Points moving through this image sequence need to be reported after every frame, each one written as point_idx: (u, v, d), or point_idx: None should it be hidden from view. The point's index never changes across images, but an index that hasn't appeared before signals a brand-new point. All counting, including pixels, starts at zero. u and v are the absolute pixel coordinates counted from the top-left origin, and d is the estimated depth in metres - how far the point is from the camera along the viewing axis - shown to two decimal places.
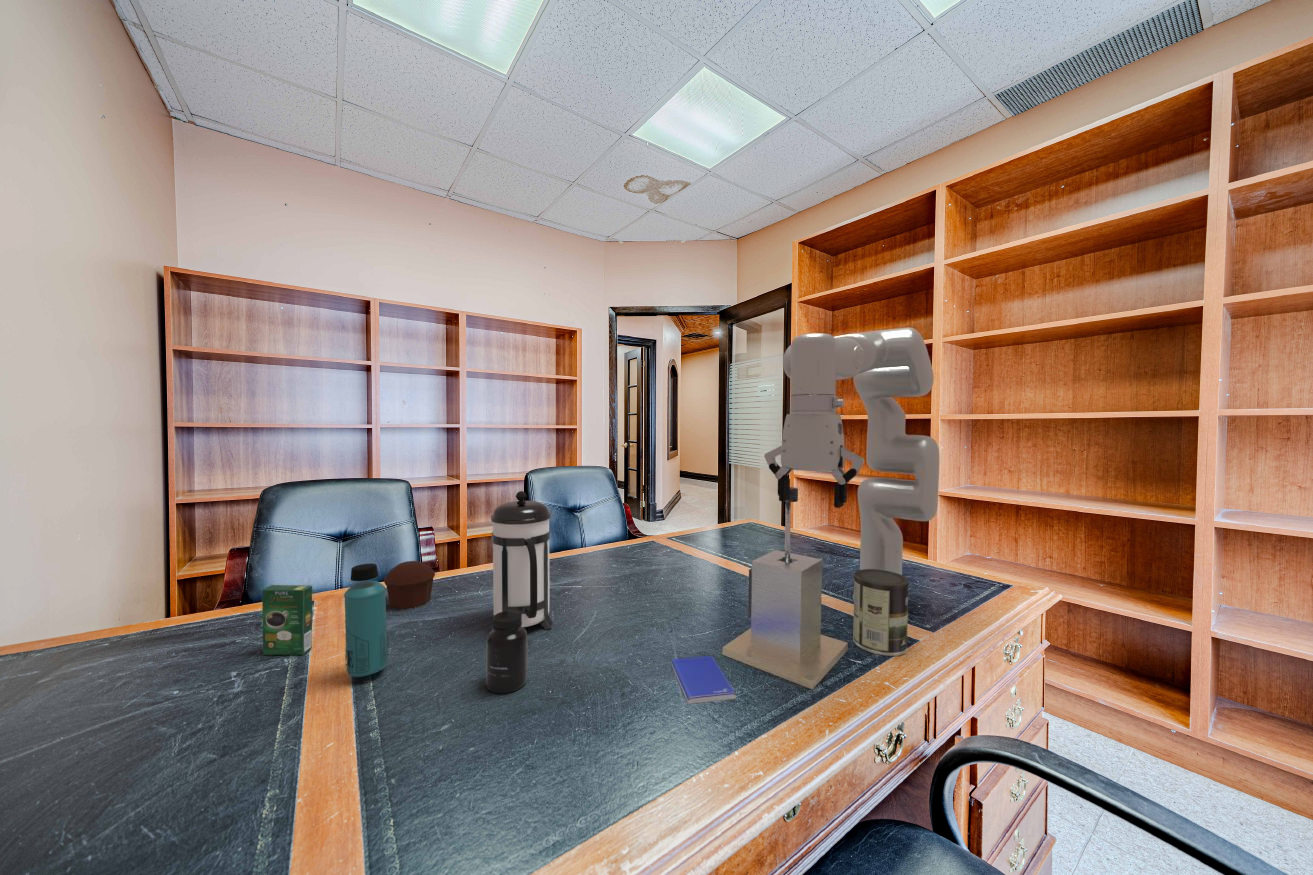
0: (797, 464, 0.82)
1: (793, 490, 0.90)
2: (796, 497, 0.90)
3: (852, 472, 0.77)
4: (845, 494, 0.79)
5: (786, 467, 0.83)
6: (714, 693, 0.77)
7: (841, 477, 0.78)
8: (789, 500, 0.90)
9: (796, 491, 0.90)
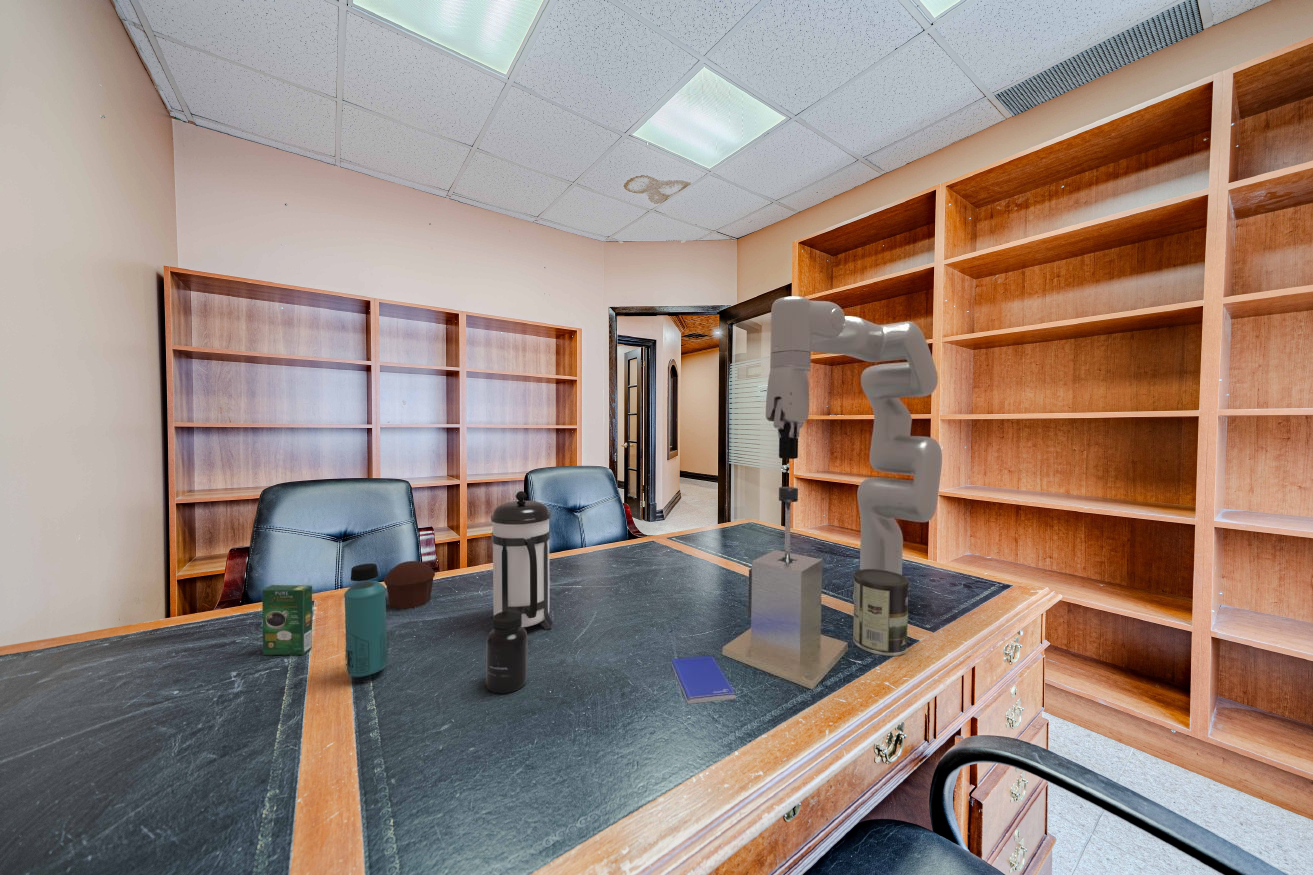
0: (795, 416, 0.88)
1: (793, 490, 0.90)
2: (796, 497, 0.90)
3: None
4: None
5: (789, 419, 0.87)
6: (714, 694, 0.77)
7: (798, 432, 0.91)
8: (789, 500, 0.90)
9: (796, 491, 0.90)
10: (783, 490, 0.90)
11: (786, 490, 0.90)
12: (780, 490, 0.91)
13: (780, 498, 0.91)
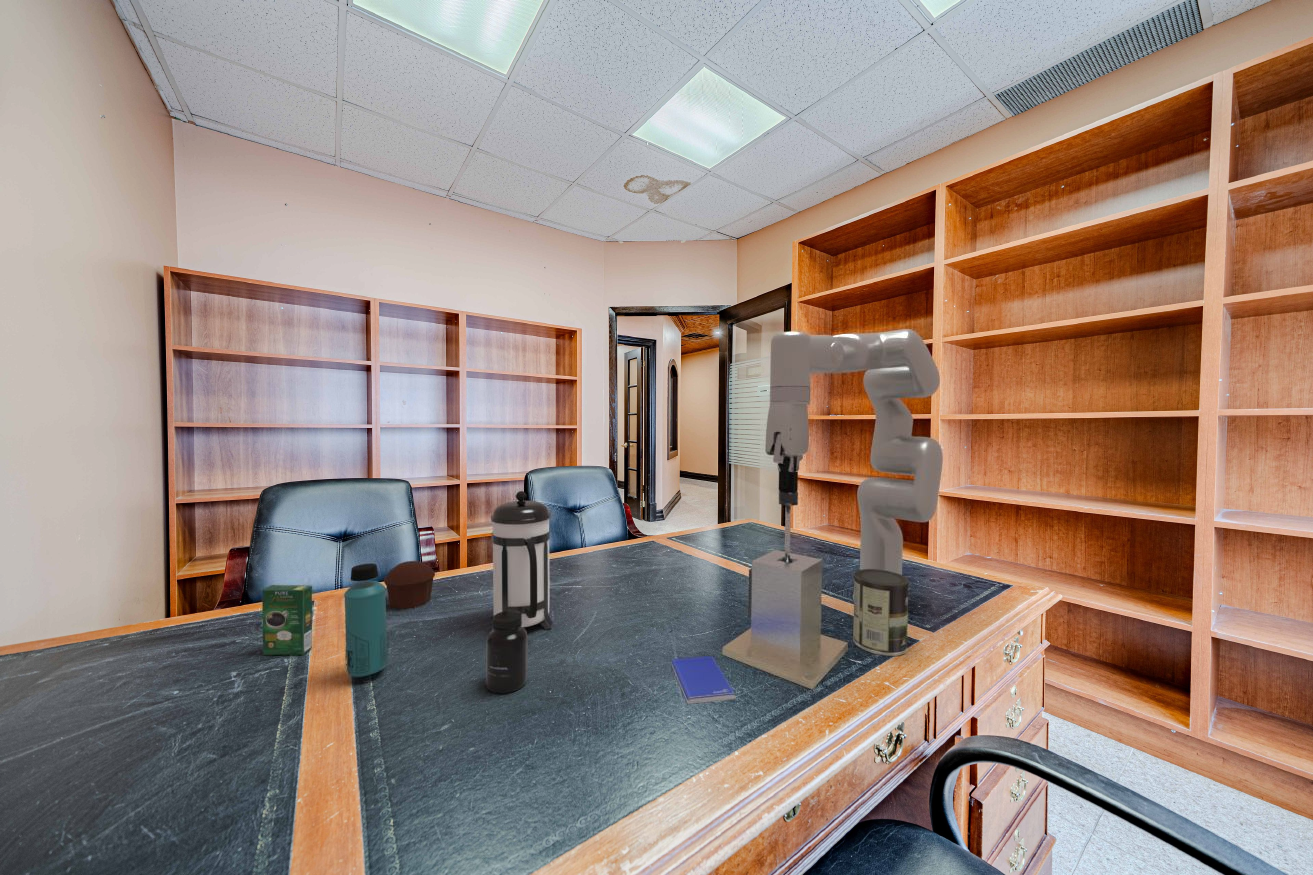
0: (795, 450, 0.88)
1: (793, 493, 0.90)
2: (796, 500, 0.90)
3: None
4: None
5: (788, 454, 0.87)
6: (714, 694, 0.77)
7: (798, 466, 0.91)
8: (789, 503, 0.90)
9: (796, 494, 0.90)
10: (783, 493, 0.90)
11: (786, 493, 0.90)
12: (780, 493, 0.91)
13: (780, 501, 0.91)
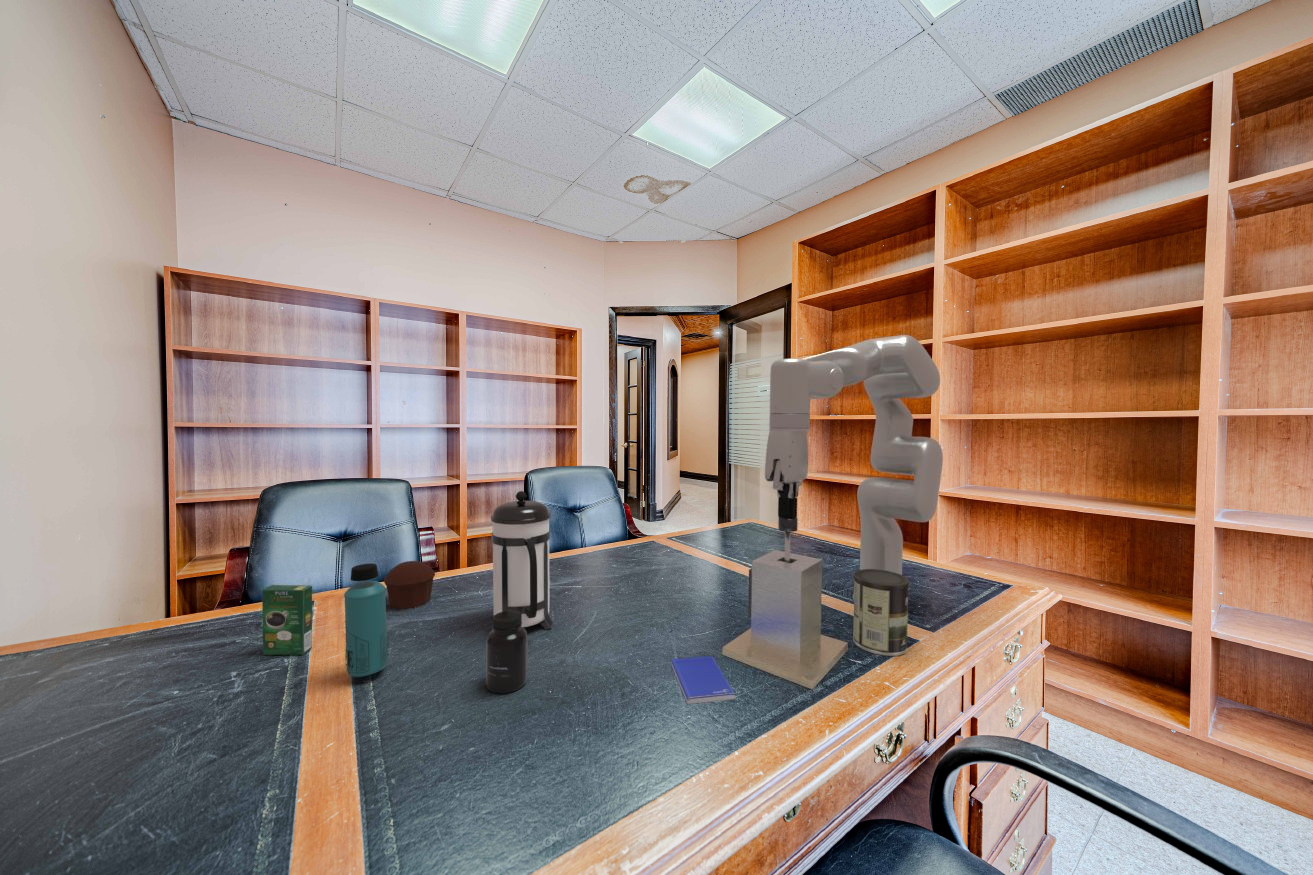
0: (794, 477, 0.88)
1: (793, 520, 0.90)
2: (795, 526, 0.90)
3: None
4: None
5: (788, 481, 0.87)
6: (714, 694, 0.77)
7: (797, 491, 0.92)
8: (789, 530, 0.90)
9: (795, 521, 0.90)
10: (783, 520, 0.90)
11: (786, 520, 0.90)
12: (780, 519, 0.91)
13: (780, 527, 0.91)
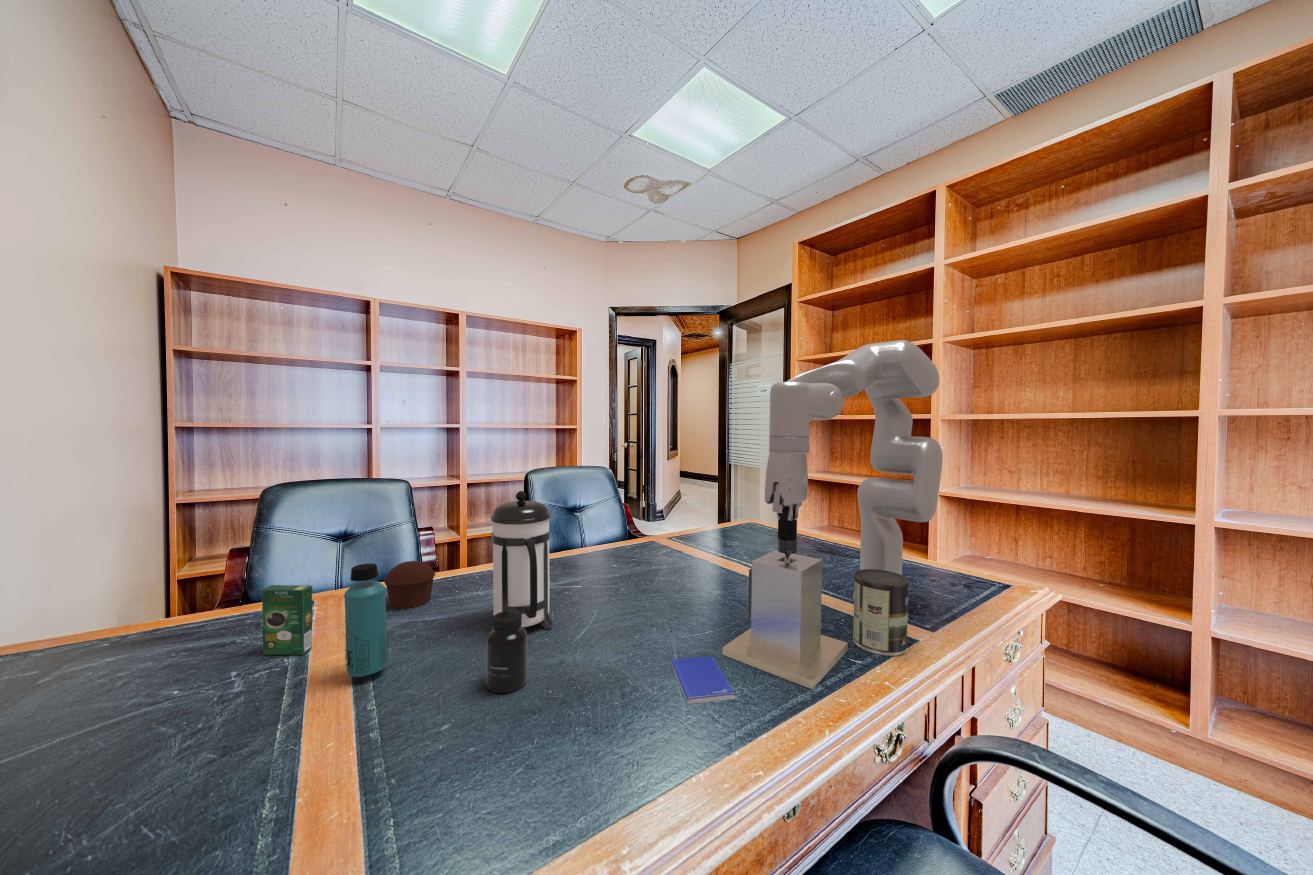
0: (794, 500, 0.89)
1: (792, 542, 0.90)
2: (795, 549, 0.90)
3: None
4: None
5: (788, 505, 0.87)
6: (713, 694, 0.77)
7: (797, 513, 0.92)
8: (788, 552, 0.90)
9: (795, 543, 0.90)
10: (782, 542, 0.90)
11: (785, 542, 0.90)
12: (779, 541, 0.91)
13: (779, 549, 0.91)
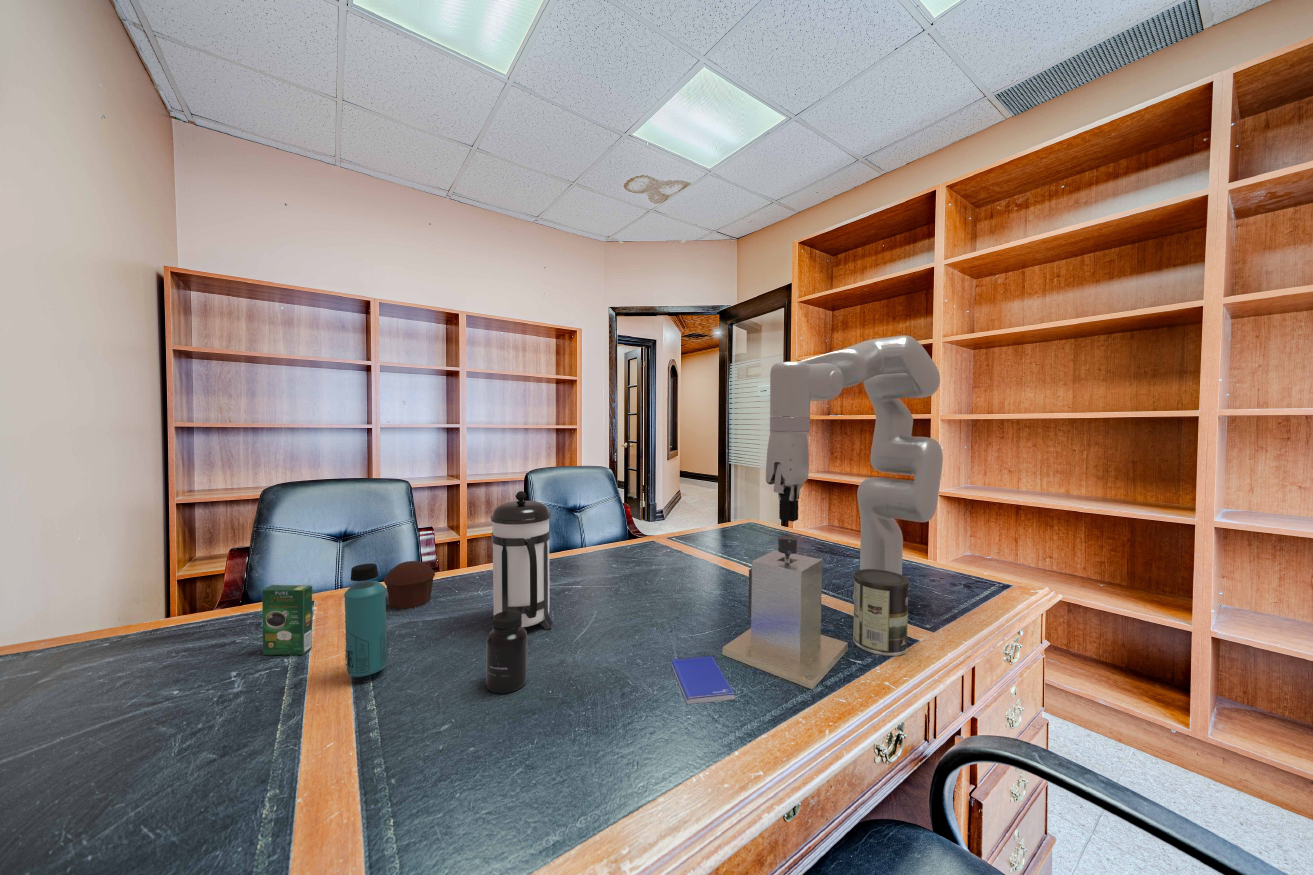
0: (795, 480, 0.89)
1: (792, 542, 0.90)
2: (795, 549, 0.90)
3: None
4: None
5: (789, 485, 0.87)
6: (713, 694, 0.77)
7: (798, 494, 0.92)
8: (788, 552, 0.90)
9: (795, 543, 0.90)
10: (782, 542, 0.90)
11: (785, 542, 0.90)
12: (779, 541, 0.91)
13: (779, 549, 0.91)
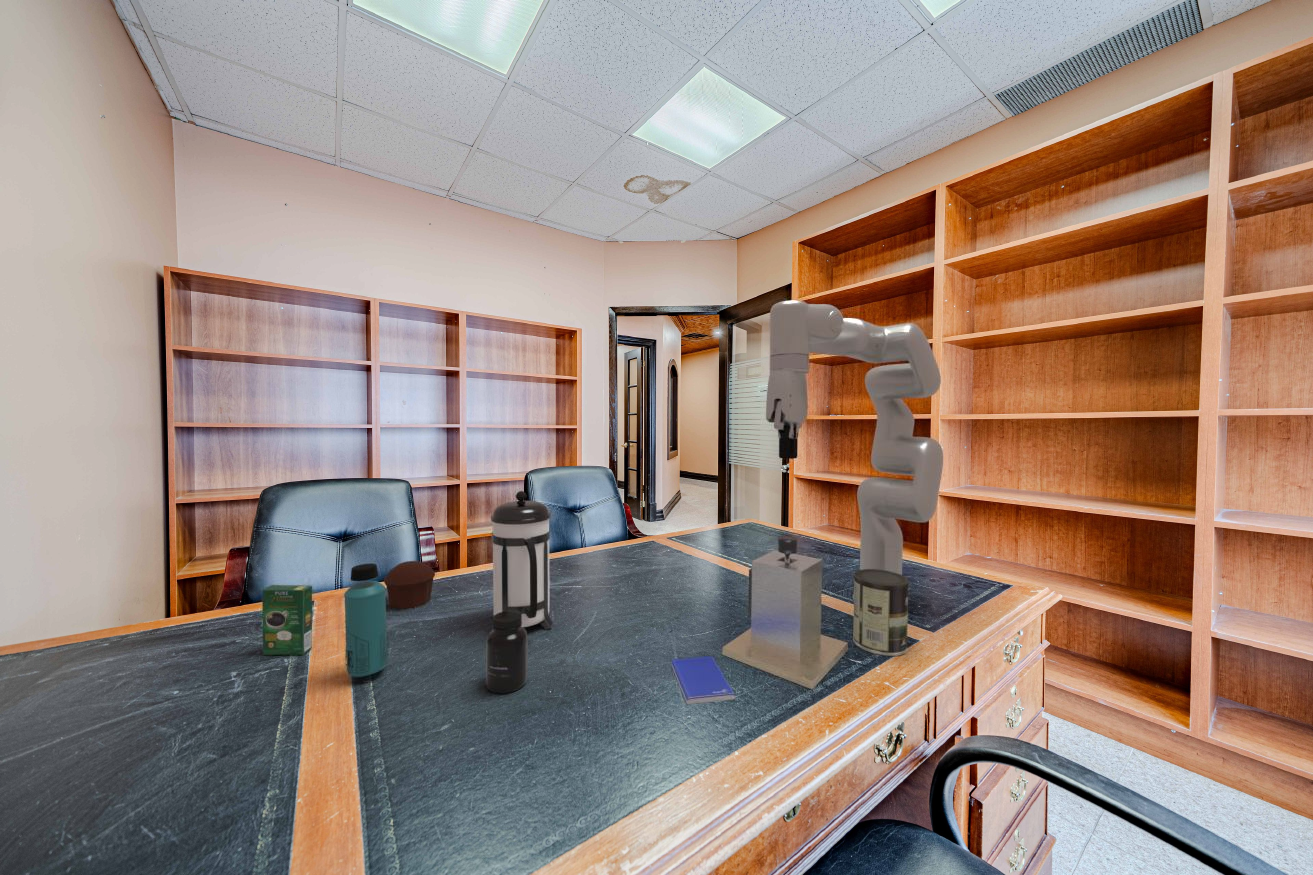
0: (795, 417, 0.90)
1: (792, 542, 0.90)
2: (795, 549, 0.90)
3: None
4: None
5: (789, 420, 0.89)
6: (713, 694, 0.77)
7: (797, 433, 0.94)
8: (788, 552, 0.90)
9: (795, 543, 0.90)
10: (782, 542, 0.90)
11: (785, 542, 0.90)
12: (779, 541, 0.91)
13: (779, 549, 0.91)
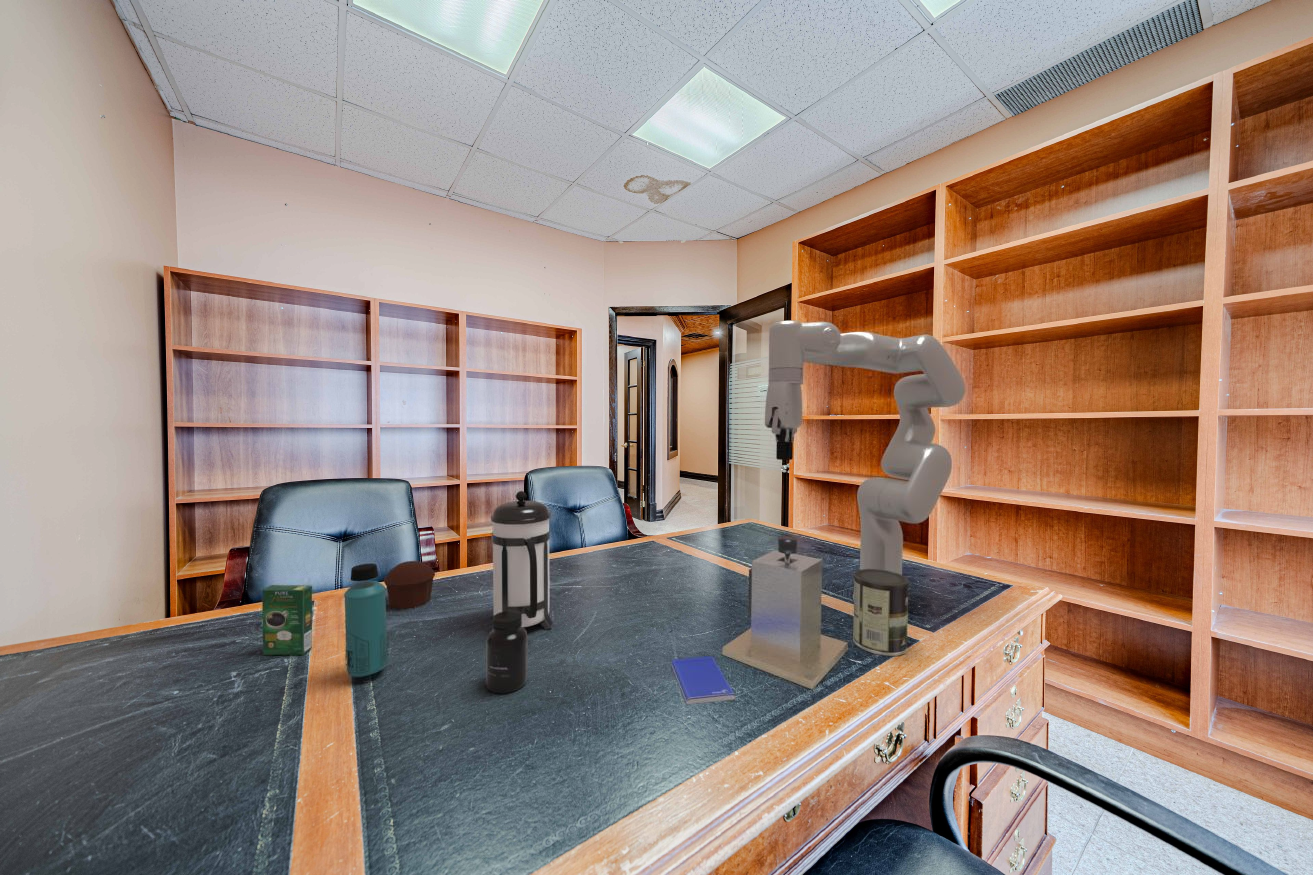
0: (790, 423, 1.03)
1: (792, 542, 0.90)
2: (795, 549, 0.90)
3: (794, 432, 1.07)
4: None
5: (784, 426, 1.01)
6: (713, 694, 0.77)
7: (793, 437, 1.06)
8: (788, 552, 0.90)
9: (795, 543, 0.90)
10: (782, 542, 0.90)
11: (785, 542, 0.90)
12: (779, 541, 0.91)
13: (779, 549, 0.91)
